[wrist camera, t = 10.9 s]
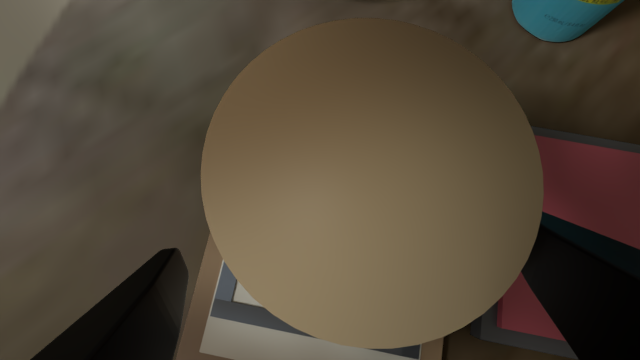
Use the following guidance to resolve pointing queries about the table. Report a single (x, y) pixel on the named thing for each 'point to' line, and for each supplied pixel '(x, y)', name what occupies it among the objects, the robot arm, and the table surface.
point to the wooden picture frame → (261, 327)
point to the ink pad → (576, 207)
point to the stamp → (372, 183)
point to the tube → (560, 17)
